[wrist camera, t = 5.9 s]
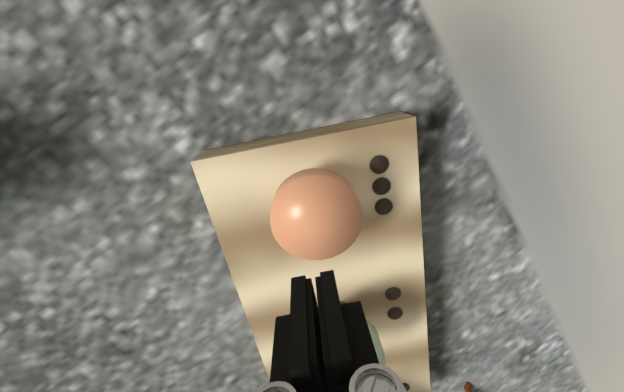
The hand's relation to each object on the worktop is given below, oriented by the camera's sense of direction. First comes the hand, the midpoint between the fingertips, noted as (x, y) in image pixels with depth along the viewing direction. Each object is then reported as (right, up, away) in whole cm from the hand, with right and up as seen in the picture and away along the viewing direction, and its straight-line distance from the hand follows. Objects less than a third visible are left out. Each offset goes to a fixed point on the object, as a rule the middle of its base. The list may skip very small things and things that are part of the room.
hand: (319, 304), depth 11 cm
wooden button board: (+2, -4, +14) cm, 15 cm away
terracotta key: (0, +3, +6) cm, 7 cm away
